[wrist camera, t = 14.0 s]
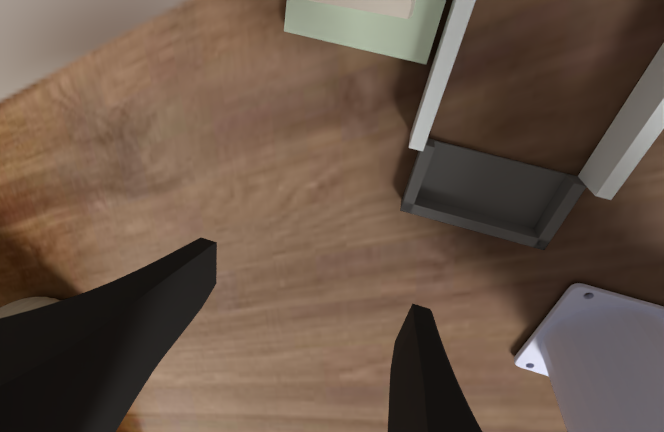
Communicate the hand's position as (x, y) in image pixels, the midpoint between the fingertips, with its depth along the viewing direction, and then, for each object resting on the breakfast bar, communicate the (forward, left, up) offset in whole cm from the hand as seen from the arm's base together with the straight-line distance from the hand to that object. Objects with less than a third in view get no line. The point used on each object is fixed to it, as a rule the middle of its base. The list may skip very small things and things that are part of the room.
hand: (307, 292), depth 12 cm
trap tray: (-7, -1, -10) cm, 12 cm away
